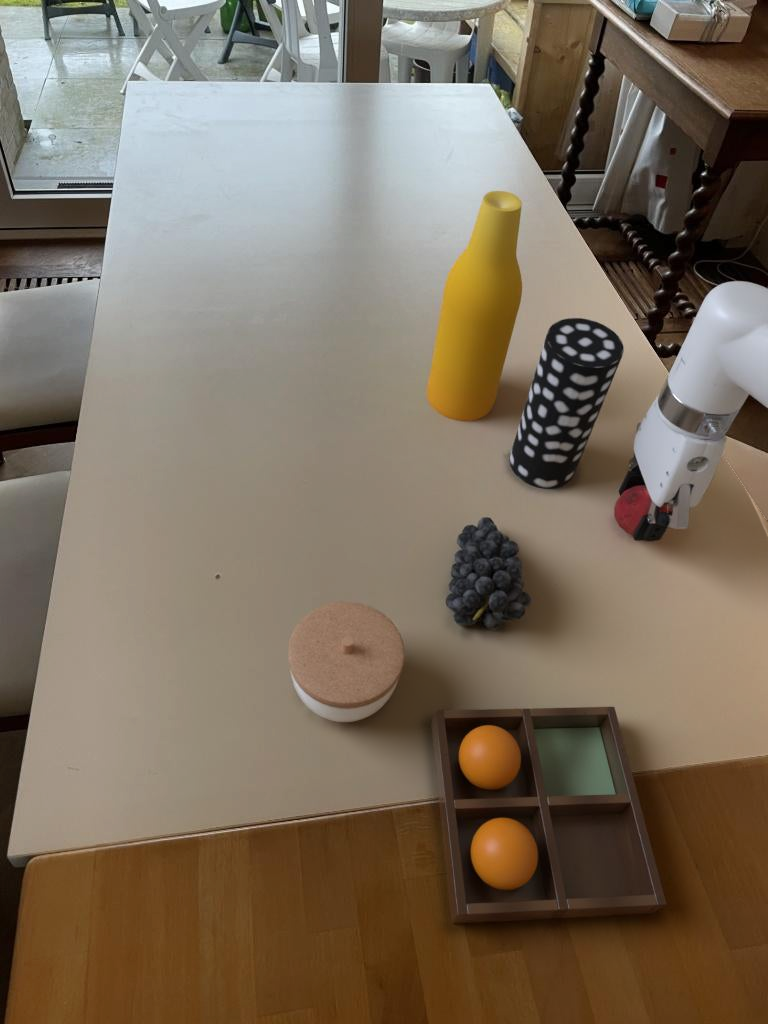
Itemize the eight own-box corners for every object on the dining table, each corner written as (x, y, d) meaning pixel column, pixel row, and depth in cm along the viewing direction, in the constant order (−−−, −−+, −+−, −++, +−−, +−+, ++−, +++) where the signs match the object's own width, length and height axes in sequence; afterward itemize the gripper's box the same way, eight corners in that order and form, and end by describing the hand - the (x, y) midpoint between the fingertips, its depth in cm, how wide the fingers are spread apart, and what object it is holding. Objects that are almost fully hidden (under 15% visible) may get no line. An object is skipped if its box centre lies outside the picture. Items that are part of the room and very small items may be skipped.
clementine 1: (508, 739, 75) (521, 714, 71) (518, 797, 72) (532, 775, 67) (450, 740, 75) (460, 715, 70) (458, 799, 71) (468, 777, 67)
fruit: (477, 478, 85) (472, 591, 75) (543, 504, 87) (546, 617, 77) (441, 522, 91) (432, 632, 81) (503, 546, 93) (502, 656, 83)
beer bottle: (441, 369, 110) (478, 170, 87) (503, 393, 108) (556, 195, 85) (414, 409, 104) (446, 206, 82) (478, 434, 102) (528, 234, 80)
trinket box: (318, 625, 82) (320, 575, 75) (412, 665, 80) (424, 616, 73) (269, 712, 76) (266, 666, 68) (371, 757, 74) (379, 714, 66)
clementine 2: (523, 828, 70) (538, 807, 66) (534, 896, 67) (551, 878, 62) (461, 830, 69) (472, 809, 65) (470, 899, 66) (482, 881, 62)
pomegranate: (606, 544, 92) (628, 501, 86) (606, 508, 96) (626, 464, 90) (655, 553, 92) (681, 510, 86) (653, 516, 96) (677, 473, 90)
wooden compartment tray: (602, 723, 78) (614, 706, 75) (650, 915, 67) (666, 904, 64) (429, 727, 76) (435, 710, 73) (450, 925, 65) (457, 914, 62)
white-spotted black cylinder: (543, 502, 96) (590, 378, 80) (494, 462, 99) (531, 335, 84) (586, 472, 100) (639, 348, 84) (538, 434, 103) (580, 308, 88)
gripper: (765, 466, 73) (691, 576, 87) (706, 347, 84) (648, 462, 98) (688, 466, 72) (626, 577, 86) (638, 346, 83) (590, 462, 97)
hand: (638, 515), depth 92 cm, fingers closed on pomegranate, 5 cm apart
